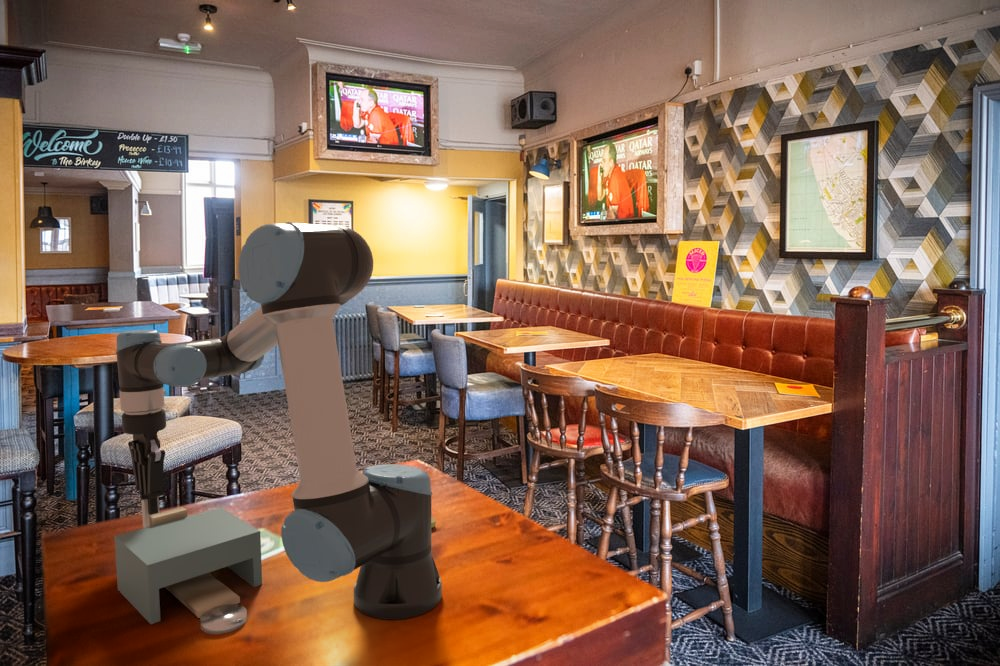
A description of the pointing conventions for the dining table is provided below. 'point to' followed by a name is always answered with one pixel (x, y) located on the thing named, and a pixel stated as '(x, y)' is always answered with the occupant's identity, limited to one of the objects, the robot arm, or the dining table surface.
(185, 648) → the dining table surface
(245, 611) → the token
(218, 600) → the paddle
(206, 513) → the bridge
